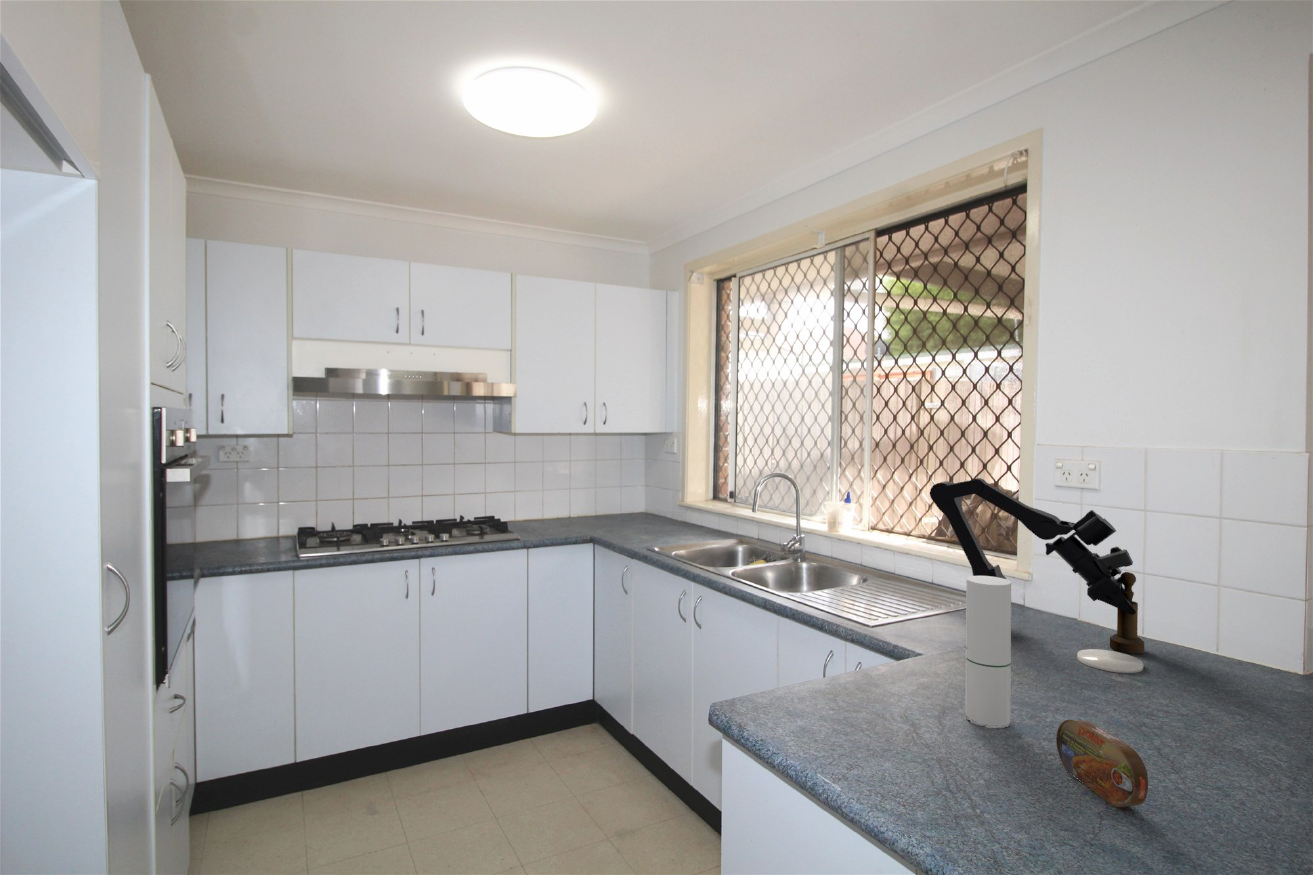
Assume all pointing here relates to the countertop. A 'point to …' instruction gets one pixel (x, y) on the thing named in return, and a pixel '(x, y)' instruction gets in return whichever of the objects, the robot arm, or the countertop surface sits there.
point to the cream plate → (1110, 661)
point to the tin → (1102, 763)
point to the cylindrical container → (988, 649)
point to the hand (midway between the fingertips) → (1134, 611)
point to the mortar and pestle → (1127, 622)
